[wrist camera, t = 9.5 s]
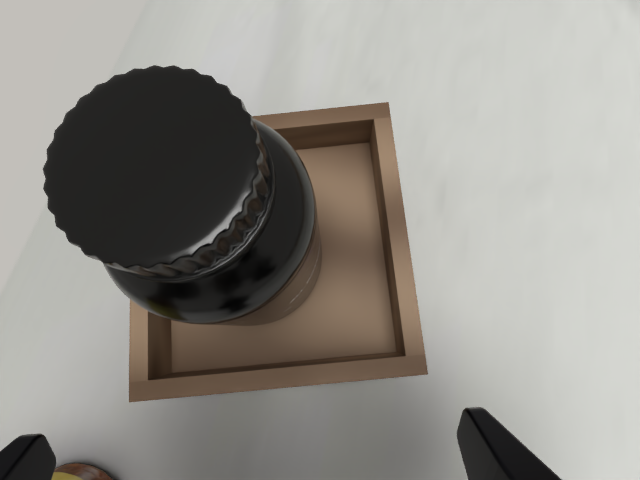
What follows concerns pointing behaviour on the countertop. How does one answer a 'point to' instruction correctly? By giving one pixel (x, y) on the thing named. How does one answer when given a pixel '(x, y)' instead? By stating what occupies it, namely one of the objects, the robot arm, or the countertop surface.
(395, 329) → the square wooden tray
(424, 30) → the countertop surface
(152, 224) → the supplement bottle
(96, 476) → the sauce bottle
